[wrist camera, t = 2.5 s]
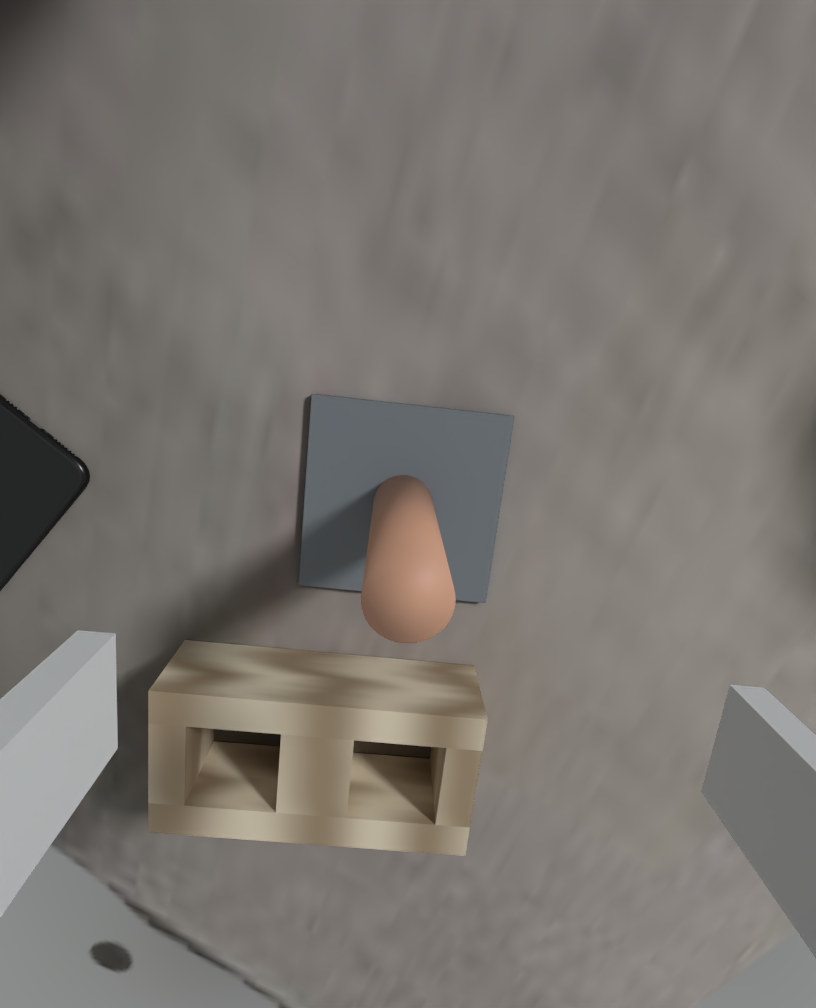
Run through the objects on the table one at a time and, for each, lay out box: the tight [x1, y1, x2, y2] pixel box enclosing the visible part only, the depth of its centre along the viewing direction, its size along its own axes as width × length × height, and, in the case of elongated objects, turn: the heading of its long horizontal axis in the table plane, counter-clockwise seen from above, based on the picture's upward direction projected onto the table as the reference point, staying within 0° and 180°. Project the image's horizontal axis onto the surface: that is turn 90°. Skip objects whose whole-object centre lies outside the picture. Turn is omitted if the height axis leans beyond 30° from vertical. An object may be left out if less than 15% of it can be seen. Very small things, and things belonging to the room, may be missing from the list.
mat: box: [299, 394, 514, 603], centre depth 31 cm, size 10×10×1 cm
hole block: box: [148, 640, 488, 856], centre depth 32 cm, size 16×8×5 cm, turn 84°
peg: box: [361, 475, 456, 643], centre depth 25 cm, size 3×3×12 cm
